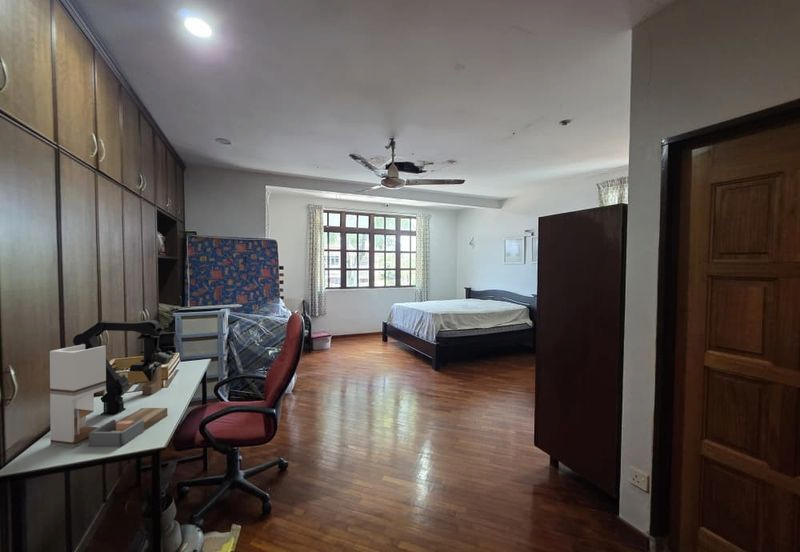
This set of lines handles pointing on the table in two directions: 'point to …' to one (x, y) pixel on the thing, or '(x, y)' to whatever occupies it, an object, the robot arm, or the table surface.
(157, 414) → the wooden board
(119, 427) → the terracotta tile
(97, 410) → the table surface
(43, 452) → the table surface
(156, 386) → the wooden block
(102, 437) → the charcoal tray
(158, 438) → the table surface
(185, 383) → the table surface
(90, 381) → the white dispenser tower
